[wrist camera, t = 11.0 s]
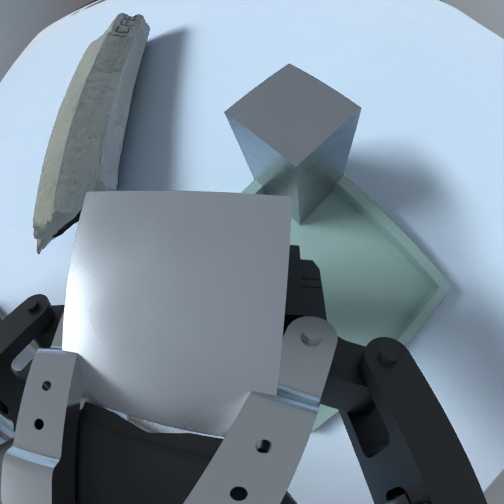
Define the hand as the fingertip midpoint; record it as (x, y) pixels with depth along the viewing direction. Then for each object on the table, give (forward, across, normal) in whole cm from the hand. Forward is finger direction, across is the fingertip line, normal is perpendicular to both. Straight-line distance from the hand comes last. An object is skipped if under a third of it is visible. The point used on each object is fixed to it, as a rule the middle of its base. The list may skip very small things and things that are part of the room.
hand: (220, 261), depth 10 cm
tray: (+7, +4, -7) cm, 11 cm away
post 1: (+2, 0, -4) cm, 5 cm away
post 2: (+12, +4, -1) cm, 13 cm away
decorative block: (+20, -17, +4) cm, 26 cm away
